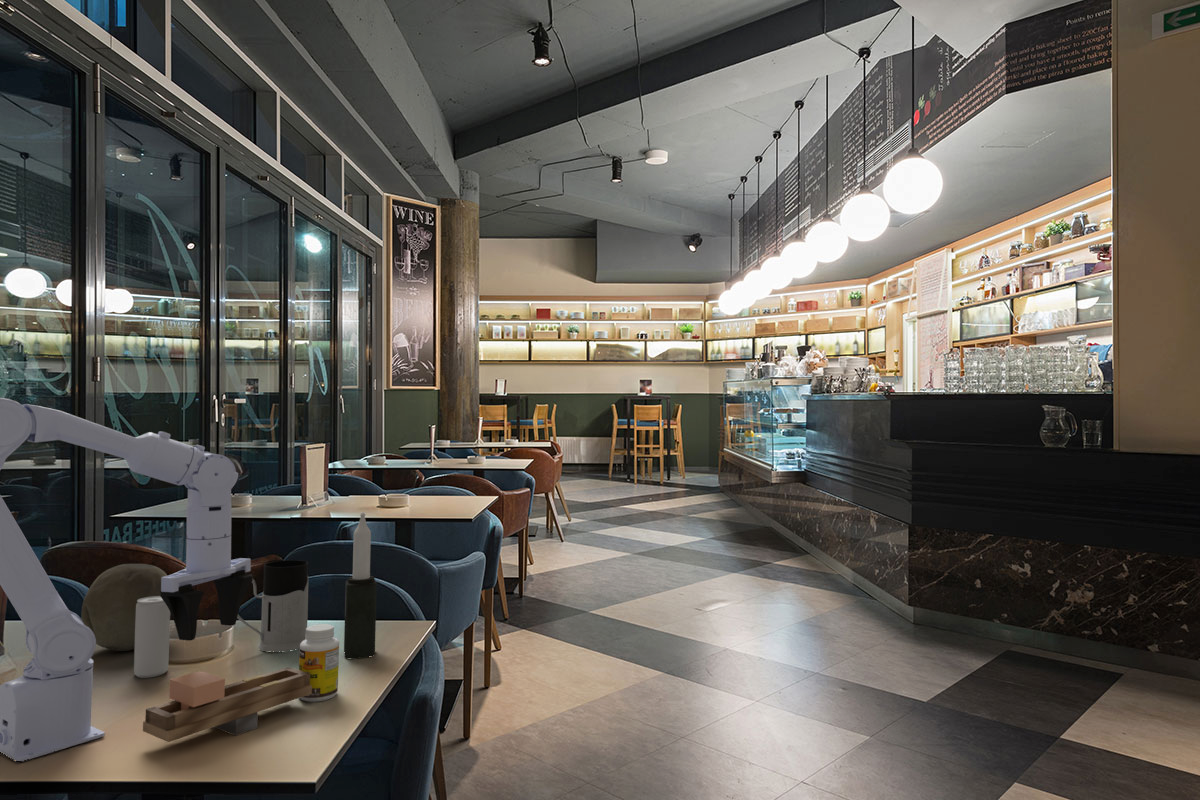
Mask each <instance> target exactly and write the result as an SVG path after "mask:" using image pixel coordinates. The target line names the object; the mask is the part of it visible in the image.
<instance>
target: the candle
mask: <svg viewBox="0 0 1200 800" xmlns="http://www.w3.org/2000/svg"><path fill="white" fill-rule="evenodd" d="M359 515H360V518H359V522H358V525H357V527H356V528H355V530H354V531H353V550H352V576H350V577H348V578H347V580H345V592H344V593H345V594H344V595H345V597H344V629H343V630H344V632H343V633H344V637H343V644H344V645H343V653H344V652H345V653H344V658H345V657H346V658H356V659H360V658H359V657H366V658H370V657H369V656H372V657H374V656H375V655H376V633H377V632H376V628H377V627H376V624H377V623H376V622H377V621H376V620H377V590H378V589H377V584H378V583H377V580H376V579H375V576H373V575H371V540H372V538H371V537H372V531H371V530H370V528H369V527H368V524H367V521H366V513H365V512H361V513H360V514H359ZM374 654H375V655H374ZM373 655H374V656H373ZM346 658H345V659H346Z"/></svg>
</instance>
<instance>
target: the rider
mask: <svg viewBox="0 0 1200 800" xmlns="http://www.w3.org/2000/svg"><path fill="white" fill-rule="evenodd" d="M225 686H226V678H223V677H221V676H218V675H214V674H211V673H208V672H205V671H202V670H199V671H195V672H192V673H187V674H185V675H180V676H177V677H173V678H170V679H169V692H168V693H169V694H168V696H169V697H168V698H169V699H171V700H172V701H178V702H181V710H184V709H187V708H190V707H196V706H199V705H202V704H206V703H209V702H212V701H215V700H219V699H222V698H224V692H225Z"/></svg>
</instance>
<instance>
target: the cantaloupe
mask: <svg viewBox="0 0 1200 800" xmlns="http://www.w3.org/2000/svg"><path fill="white" fill-rule="evenodd" d="M165 576H168V575H167V573H166V572H165V571H164V570H163V569H161V568H160V567H158V566H155V565H152V564H146V563H123V564H119V565H116V566H113V567H110V568H108V569H106V570H105V571H103V572H102V573H101V574H100V575H98V576H97V578H96V579H95V580H94V581H93V582H92V584H91V585H90V586H89V588H88V590H87V593H86V594H85V596H84V599H83V601H82V605H81V611H80V612H81V615H80V616H81V617H80V618H81V620H82V621H83V623H84V625H85V626H87V627H89V628H90V629H91V631H92V632H93V633H94V635H95V639H96V645H97V646H99V647H101V648H105V649H108V650H111V651H116V652H128V651H129V652H130V651H133V650H135V620H136V605H137V603H138V602H137V600H139V599H141V598H145V597H152V596H160V591H161V578H162V577H165Z"/></svg>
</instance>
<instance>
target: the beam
mask: <svg viewBox="0 0 1200 800" xmlns="http://www.w3.org/2000/svg"><path fill="white" fill-rule="evenodd" d="M310 694H312V685H310V673H307V672H304V671H300V670H299V669H296V668H292V667H290V666H287V667H285V668H281V669H277V670H275V671H270V672H267V673H264V674H260V675H254V676H251V677H248V678H243V679H242V680H239V681H236V682H233V683H230V684H227V685H226V684H225V692H224V698H222V699H219V700H215V701H212V702H209V703H206V704H202V705H199V706H196V707H190V708H187V709H184V710H181V702H178V701H175V700H172V701H168V702H165V703H162V704H159V705H156V706H152V707H148V708H146V709H145V717H144V718H145V720H143V722H142V732H144V733H146V734H148V735H151V736H154V737H155V738H158V739H160V740H163V741H165V742H167V743H170V742H174V741H176V740H179V739H182V738H185V737H187V736H188V737H189V736H191V735H193V734H197V733H201V732H203V731H207V730H209V729H211V728H215V729H217V730H221V731H223V732H226V733H228V734H231V735H233V736H238V735H242V734H244V733H247V732H250V731H252V730H255V729H258V715H259V714H258V713H259V712H262V711H265V710H268V709H271V708H274V707H277V706H280V705H282V704H286V703H289V702H292V701H294V700H297V699H298V700H299V699H300V698H301V697H304V696H307V695H310Z"/></svg>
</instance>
